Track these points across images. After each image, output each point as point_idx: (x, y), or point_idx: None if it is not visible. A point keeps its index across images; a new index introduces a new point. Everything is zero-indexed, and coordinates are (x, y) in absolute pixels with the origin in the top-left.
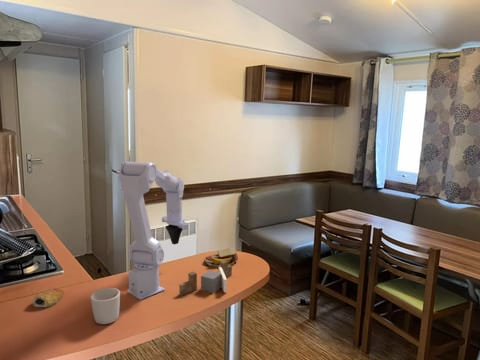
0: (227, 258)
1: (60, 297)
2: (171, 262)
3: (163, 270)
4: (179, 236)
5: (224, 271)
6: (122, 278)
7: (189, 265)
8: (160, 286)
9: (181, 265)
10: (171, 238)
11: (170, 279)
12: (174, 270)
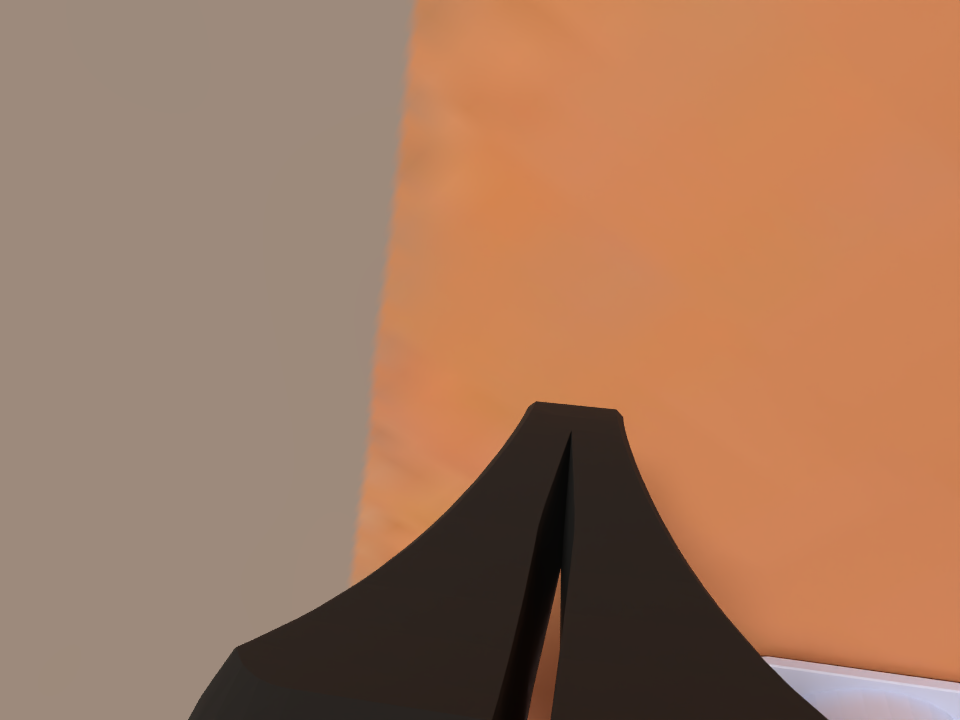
0: None
1: None
2: (418, 171)
3: None
4: (660, 531)
5: None
6: None
7: (744, 39)
8: (932, 691)
9: (632, 138)
10: (540, 646)
11: (863, 509)
12: (693, 321)
